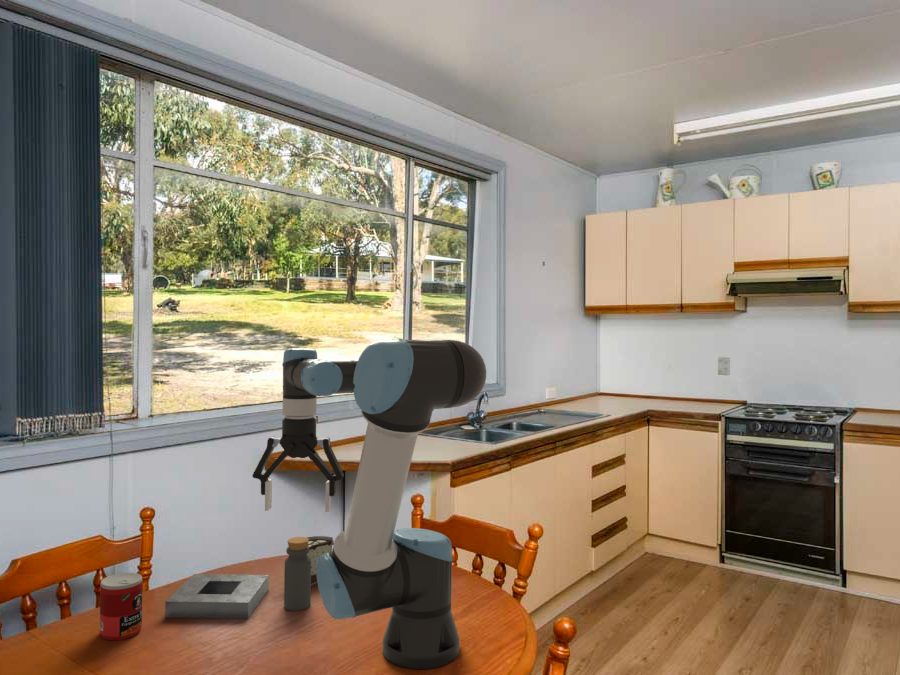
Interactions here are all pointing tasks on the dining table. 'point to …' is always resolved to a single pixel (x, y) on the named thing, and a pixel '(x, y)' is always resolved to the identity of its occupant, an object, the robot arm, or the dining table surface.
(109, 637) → the canned food
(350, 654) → the dining table surface
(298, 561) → the bottle
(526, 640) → the dining table surface
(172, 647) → the dining table surface
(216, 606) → the plate
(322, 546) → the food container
